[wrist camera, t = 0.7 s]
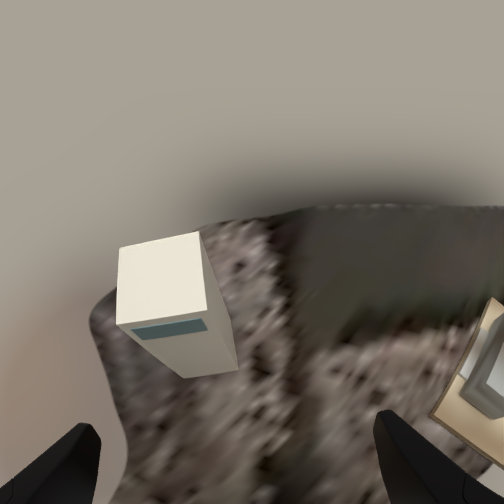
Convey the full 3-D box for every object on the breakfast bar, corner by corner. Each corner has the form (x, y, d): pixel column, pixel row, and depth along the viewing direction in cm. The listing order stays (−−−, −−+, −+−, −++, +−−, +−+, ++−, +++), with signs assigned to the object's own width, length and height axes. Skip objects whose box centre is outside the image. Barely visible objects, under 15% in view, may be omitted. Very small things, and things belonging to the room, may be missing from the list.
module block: (239, 370, 24) (207, 310, 14) (183, 379, 24) (116, 325, 14) (230, 318, 26) (198, 230, 17) (178, 327, 26) (119, 247, 16)
